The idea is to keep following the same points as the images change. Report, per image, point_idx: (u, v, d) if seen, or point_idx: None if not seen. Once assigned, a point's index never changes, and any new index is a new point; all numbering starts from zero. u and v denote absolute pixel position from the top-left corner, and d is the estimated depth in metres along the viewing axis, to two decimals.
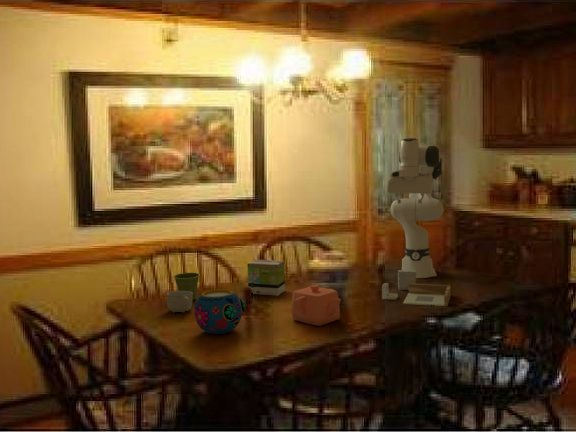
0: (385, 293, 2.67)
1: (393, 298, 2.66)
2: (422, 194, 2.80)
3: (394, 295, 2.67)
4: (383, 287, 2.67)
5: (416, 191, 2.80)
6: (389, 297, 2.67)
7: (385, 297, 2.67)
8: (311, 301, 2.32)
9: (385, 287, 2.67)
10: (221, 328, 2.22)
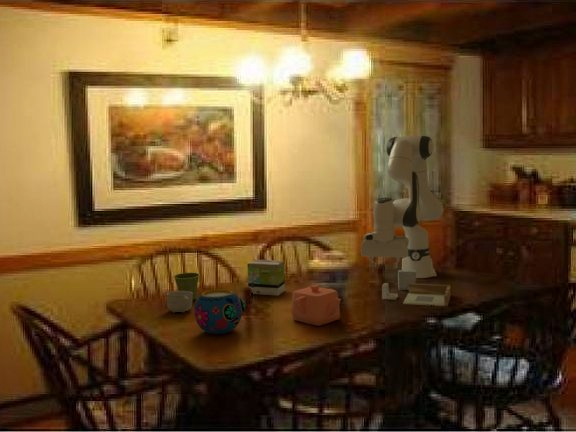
0: (385, 293, 2.67)
1: (393, 298, 2.66)
2: (397, 258, 2.65)
3: (394, 295, 2.67)
4: (383, 287, 2.67)
5: (391, 255, 2.65)
6: (389, 297, 2.67)
7: (385, 297, 2.67)
8: (311, 301, 2.32)
9: (385, 287, 2.67)
10: (221, 328, 2.22)
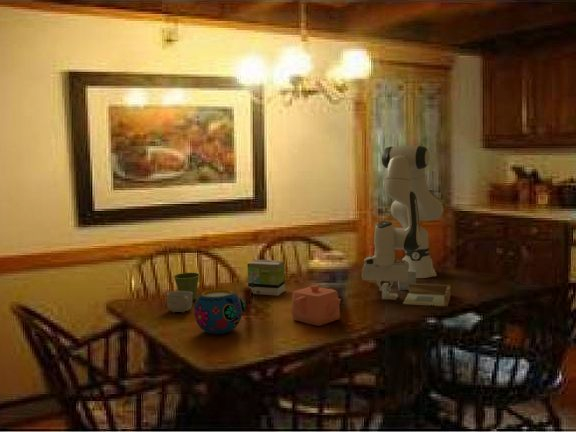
0: (385, 293, 2.67)
1: (393, 298, 2.66)
2: (391, 282, 2.67)
3: (394, 295, 2.67)
4: (383, 287, 2.67)
5: (391, 279, 2.66)
6: (389, 297, 2.67)
7: (385, 297, 2.67)
8: (311, 301, 2.32)
9: (385, 287, 2.67)
10: (221, 328, 2.22)
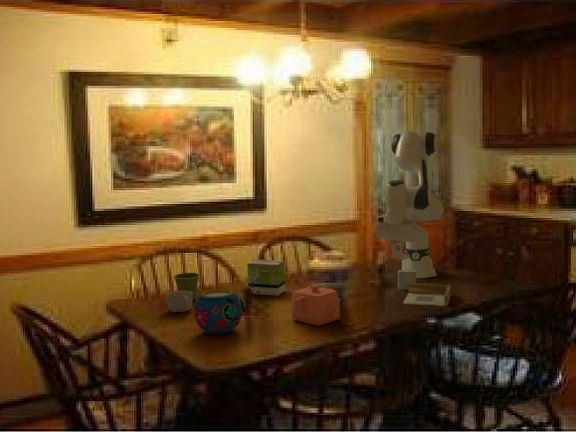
0: (394, 252, 2.64)
1: (401, 258, 2.62)
2: (401, 242, 2.63)
3: (403, 255, 2.63)
4: (392, 246, 2.64)
5: (400, 239, 2.62)
6: (398, 257, 2.63)
7: (394, 256, 2.64)
8: (311, 301, 2.32)
9: (394, 246, 2.64)
10: (221, 328, 2.22)
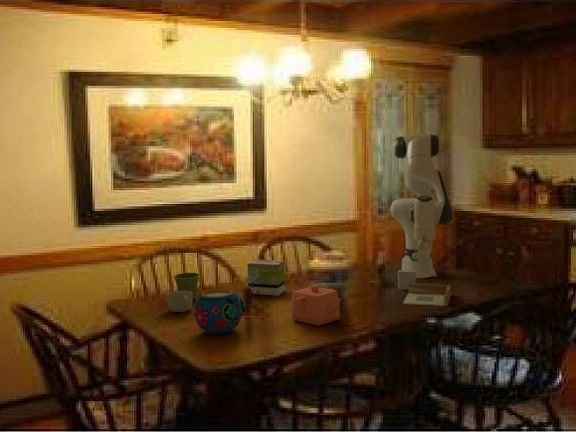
0: None
1: None
2: None
3: (421, 272, 2.60)
4: None
5: None
6: None
7: None
8: (311, 301, 2.32)
9: None
10: (221, 328, 2.22)
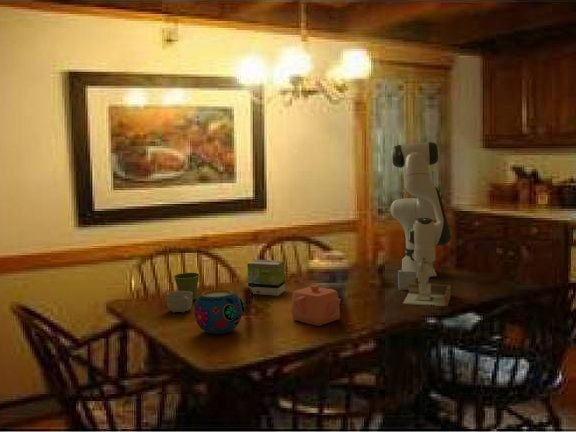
0: None
1: (418, 298, 2.62)
2: None
3: (421, 296, 2.61)
4: (419, 285, 2.66)
5: None
6: (418, 296, 2.64)
7: None
8: (311, 301, 2.32)
9: None
10: (221, 328, 2.22)
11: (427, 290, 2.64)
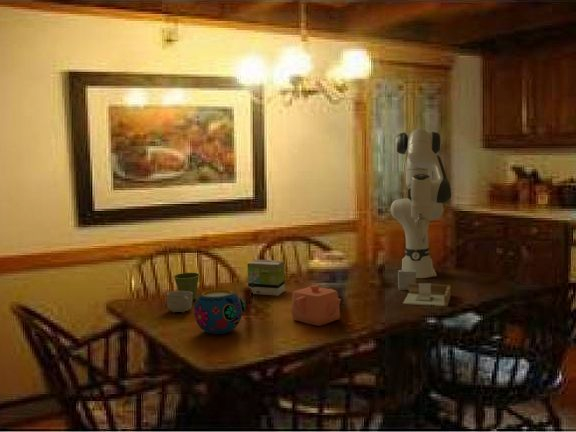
0: None
1: (418, 298, 2.62)
2: (417, 237, 2.58)
3: (421, 296, 2.61)
4: (419, 285, 2.66)
5: None
6: (418, 296, 2.64)
7: None
8: (311, 301, 2.32)
9: None
10: (221, 328, 2.22)
11: (427, 290, 2.64)
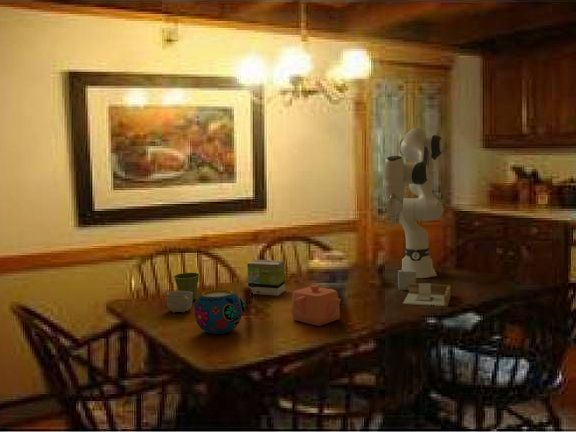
0: None
1: (418, 298, 2.62)
2: None
3: (421, 296, 2.61)
4: (419, 285, 2.66)
5: None
6: (418, 296, 2.64)
7: None
8: (311, 301, 2.32)
9: None
10: (221, 328, 2.22)
11: (427, 290, 2.64)
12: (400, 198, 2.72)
